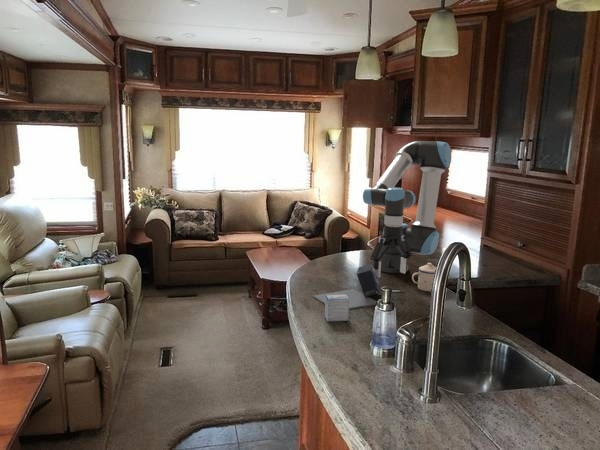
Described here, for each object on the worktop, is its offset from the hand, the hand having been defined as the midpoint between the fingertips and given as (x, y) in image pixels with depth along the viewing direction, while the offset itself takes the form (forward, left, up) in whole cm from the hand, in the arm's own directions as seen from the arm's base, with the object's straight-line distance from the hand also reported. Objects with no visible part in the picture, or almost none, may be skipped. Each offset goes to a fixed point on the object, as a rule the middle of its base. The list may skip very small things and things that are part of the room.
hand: (390, 274), depth 201 cm
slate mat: (+22, 0, -8) cm, 23 cm away
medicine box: (+36, +15, -9) cm, 40 cm away
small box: (+8, 0, -7) cm, 11 cm away
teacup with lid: (-19, +1, -9) cm, 21 cm away
